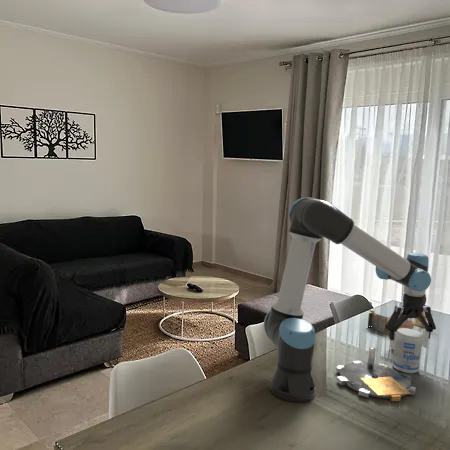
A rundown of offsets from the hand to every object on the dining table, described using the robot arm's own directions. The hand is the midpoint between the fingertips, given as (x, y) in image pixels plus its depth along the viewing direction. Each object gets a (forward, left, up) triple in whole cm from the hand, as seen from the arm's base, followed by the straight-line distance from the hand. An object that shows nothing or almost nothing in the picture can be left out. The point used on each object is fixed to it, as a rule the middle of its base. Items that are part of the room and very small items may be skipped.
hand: (408, 347), depth 175 cm
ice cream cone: (+7, +17, -9) cm, 20 cm away
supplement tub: (0, 0, -9) cm, 9 cm away
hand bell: (+39, +47, -9) cm, 61 cm away
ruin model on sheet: (+11, +39, -9) cm, 42 cm away
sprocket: (-19, -10, -9) cm, 23 cm away
